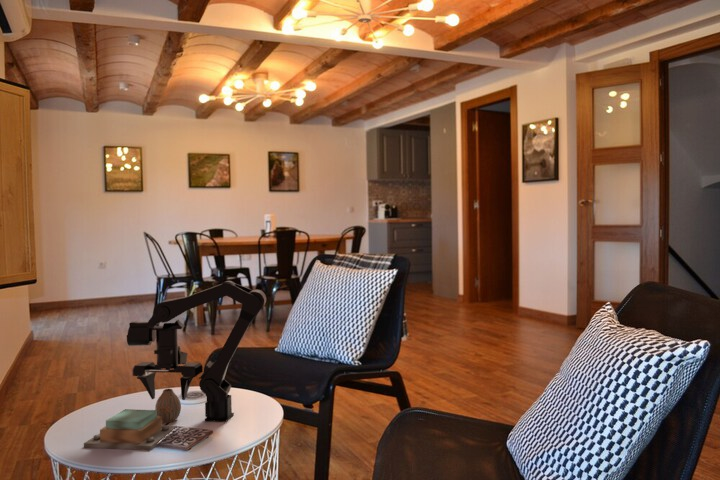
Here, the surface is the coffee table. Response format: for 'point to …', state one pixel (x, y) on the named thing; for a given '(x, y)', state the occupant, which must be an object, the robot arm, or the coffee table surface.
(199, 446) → the coffee table surface
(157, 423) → the stacked plates with bolts
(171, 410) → the vase
